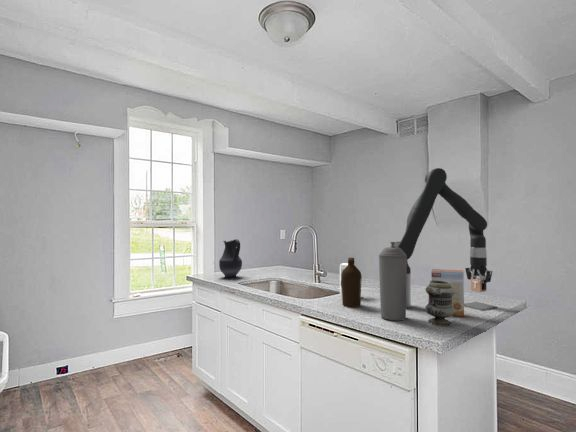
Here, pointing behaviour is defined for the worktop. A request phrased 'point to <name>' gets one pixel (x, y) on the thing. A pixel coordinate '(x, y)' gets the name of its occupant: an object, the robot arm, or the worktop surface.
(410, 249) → the robot arm
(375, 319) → the worktop surface
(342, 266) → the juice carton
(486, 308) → the charcoal mat
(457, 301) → the cracker box
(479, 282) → the lettered block
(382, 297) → the canister
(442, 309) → the apothecary jar
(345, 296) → the olive oil
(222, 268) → the pitcher
